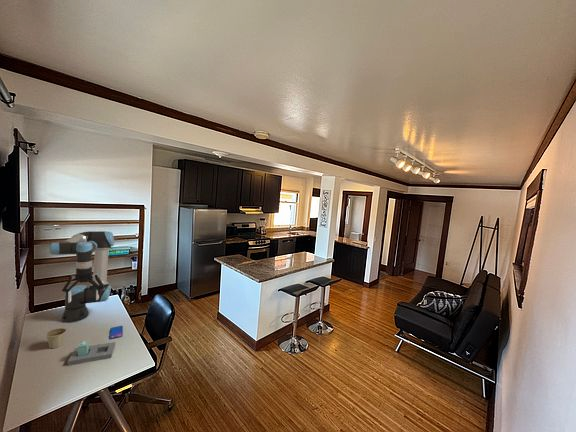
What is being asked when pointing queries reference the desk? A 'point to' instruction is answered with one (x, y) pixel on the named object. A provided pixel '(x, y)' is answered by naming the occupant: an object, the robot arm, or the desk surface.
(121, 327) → the smartphone
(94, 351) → the outlet plate
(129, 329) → the desk surface
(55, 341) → the flower pot
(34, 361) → the desk surface
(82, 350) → the charger
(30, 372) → the desk surface
